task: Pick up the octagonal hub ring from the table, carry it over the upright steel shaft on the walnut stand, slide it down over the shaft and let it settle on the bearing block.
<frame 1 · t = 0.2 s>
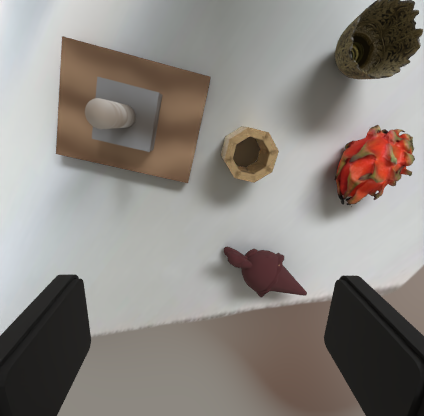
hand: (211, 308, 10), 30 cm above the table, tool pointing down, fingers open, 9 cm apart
hub: (244, 151, 37), on the table
shaft stand: (134, 116, 35), on the table
icecream: (261, 261, 44), on the table
cup: (345, 57, 34), on the table
dragon fruit: (354, 163, 39), on the table
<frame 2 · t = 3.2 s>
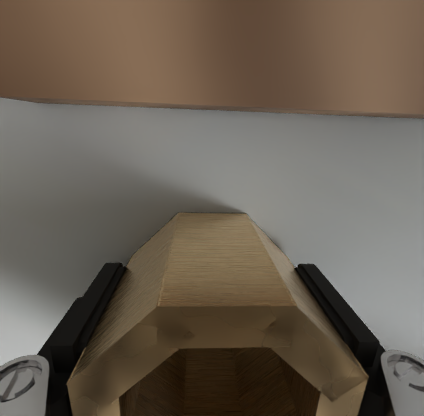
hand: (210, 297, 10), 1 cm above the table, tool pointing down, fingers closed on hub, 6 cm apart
hub: (209, 283, 11), on the table, touching gripper
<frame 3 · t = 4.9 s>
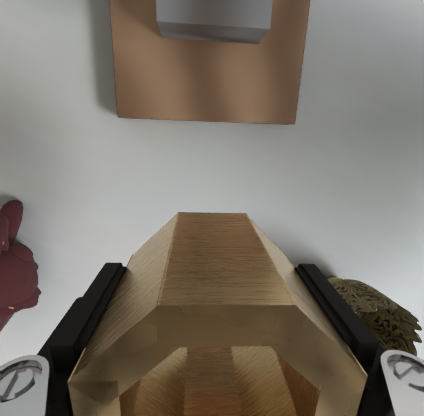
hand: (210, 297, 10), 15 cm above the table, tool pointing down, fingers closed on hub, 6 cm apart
hub: (209, 283, 11), point 14 cm above the table, touching gripper
icecream: (18, 266, 25), on the table
cup: (328, 287, 29), on the table
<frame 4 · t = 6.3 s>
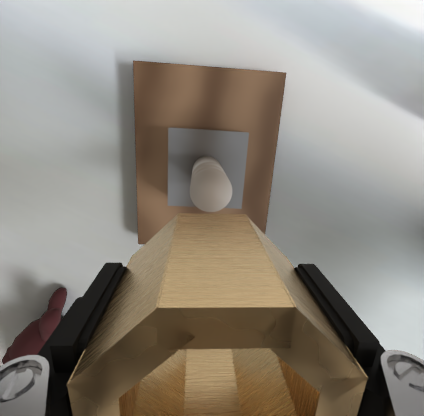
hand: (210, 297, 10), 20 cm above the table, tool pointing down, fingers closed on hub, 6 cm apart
hub: (209, 283, 11), point 19 cm above the table, touching gripper
shaft stand: (205, 162, 28), on the table
icecream: (58, 329, 34), on the table
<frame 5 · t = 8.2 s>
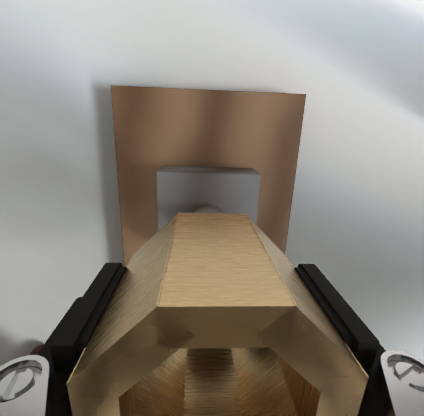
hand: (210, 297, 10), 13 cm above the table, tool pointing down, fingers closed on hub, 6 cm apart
hub: (209, 283, 11), point 13 cm above the table, touching gripper
shaft stand: (206, 202, 23), on the table
when the fingers open (8 cm above the table, at t = 9.8 s): hub drops 2 cm, resting on shaft stand.
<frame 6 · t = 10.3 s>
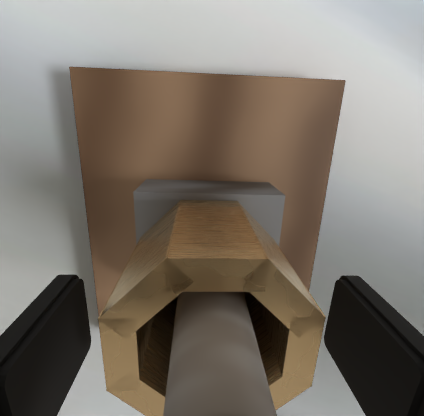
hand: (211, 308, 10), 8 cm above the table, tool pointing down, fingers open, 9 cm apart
hub: (207, 261, 13), point 5 cm above the table, touching shaft stand
shaft stand: (205, 225, 18), on the table
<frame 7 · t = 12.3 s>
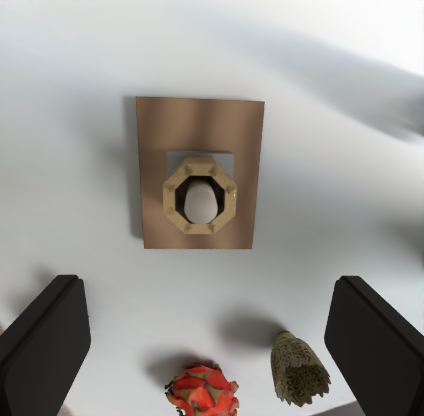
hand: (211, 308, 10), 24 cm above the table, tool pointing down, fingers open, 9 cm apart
hub: (199, 186, 28), point 5 cm above the table, touching shaft stand
shaft stand: (199, 177, 33), on the table
cup: (283, 338, 41), on the table
dragon fruit: (202, 372, 43), on the table
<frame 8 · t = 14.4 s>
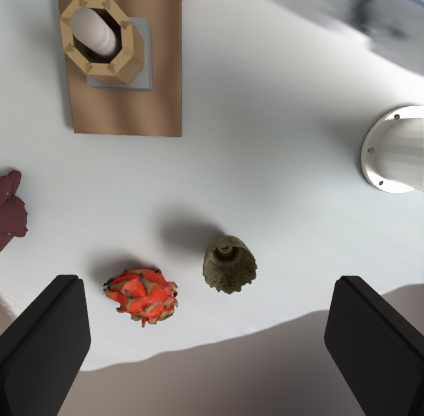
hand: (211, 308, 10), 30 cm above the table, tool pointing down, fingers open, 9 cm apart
hub: (115, 52, 29), point 5 cm above the table, touching shaft stand
shaft stand: (127, 63, 34), on the table
icecream: (14, 213, 39), on the table
cup: (224, 244, 42), on the table
dragon fruit: (146, 280, 44), on the table
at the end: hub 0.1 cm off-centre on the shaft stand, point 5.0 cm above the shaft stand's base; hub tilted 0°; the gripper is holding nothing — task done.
